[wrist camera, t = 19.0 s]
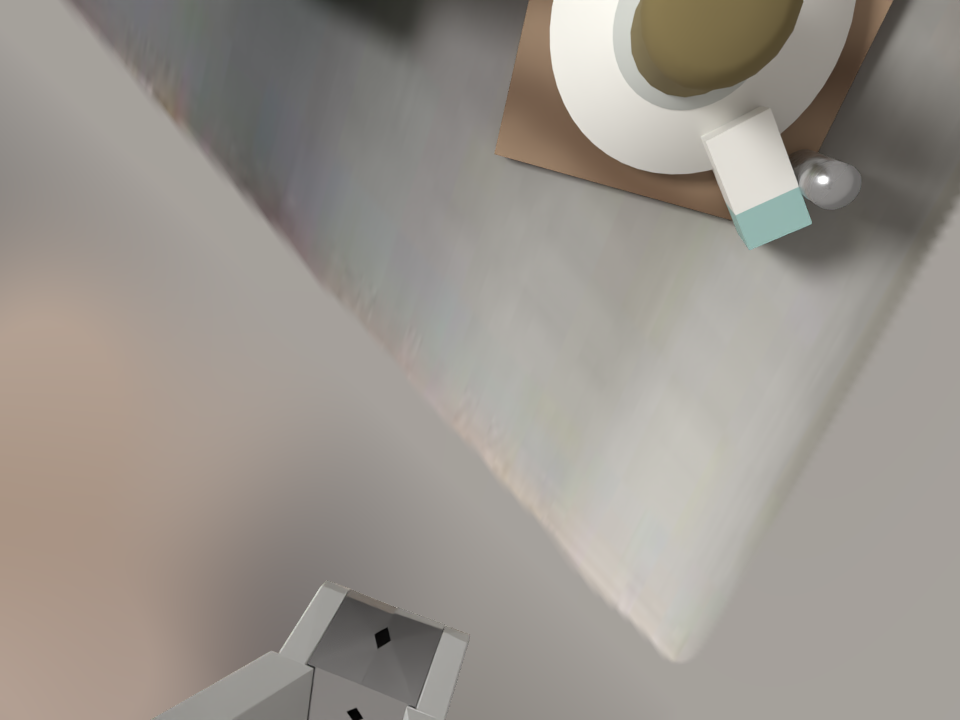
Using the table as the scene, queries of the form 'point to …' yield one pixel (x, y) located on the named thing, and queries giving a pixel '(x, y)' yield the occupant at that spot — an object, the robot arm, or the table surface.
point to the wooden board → (564, 148)
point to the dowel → (825, 179)
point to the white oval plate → (699, 108)
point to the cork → (708, 41)
